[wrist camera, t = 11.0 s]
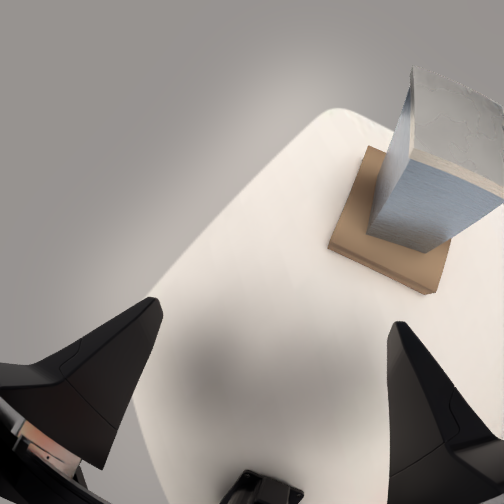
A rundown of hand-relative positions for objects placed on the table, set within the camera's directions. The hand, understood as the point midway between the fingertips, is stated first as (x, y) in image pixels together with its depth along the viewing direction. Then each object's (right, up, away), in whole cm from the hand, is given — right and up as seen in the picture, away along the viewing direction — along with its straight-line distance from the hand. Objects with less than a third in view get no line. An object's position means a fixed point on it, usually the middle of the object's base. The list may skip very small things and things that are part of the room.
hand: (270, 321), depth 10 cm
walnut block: (+13, +5, +14) cm, 19 cm away
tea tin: (+12, +6, +11) cm, 17 cm away
